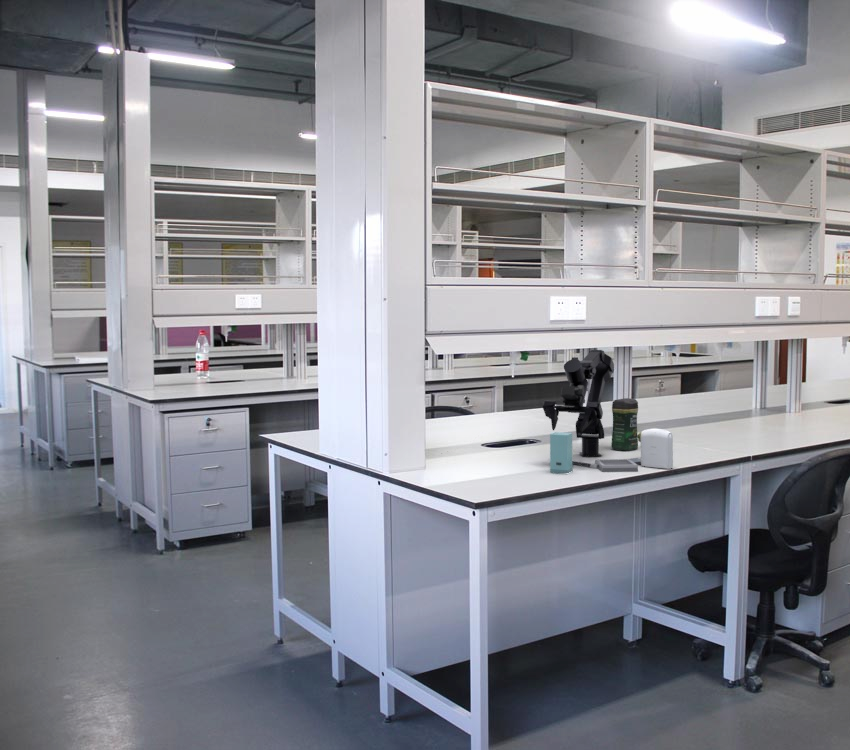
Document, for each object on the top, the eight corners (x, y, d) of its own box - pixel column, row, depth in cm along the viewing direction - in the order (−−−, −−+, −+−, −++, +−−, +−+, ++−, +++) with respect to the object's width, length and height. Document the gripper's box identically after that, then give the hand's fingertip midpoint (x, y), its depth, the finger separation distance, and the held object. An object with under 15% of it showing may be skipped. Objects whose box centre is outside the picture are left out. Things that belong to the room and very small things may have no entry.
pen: (562, 462, 267) (562, 459, 267) (565, 462, 268) (565, 459, 268) (596, 468, 256) (596, 465, 256) (599, 467, 257) (599, 464, 257)
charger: (555, 470, 255) (555, 432, 254) (572, 471, 252) (572, 433, 251) (550, 472, 250) (549, 434, 249) (567, 474, 247) (567, 435, 247)
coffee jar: (626, 452, 287) (626, 400, 285) (608, 449, 292) (607, 398, 291) (642, 448, 293) (642, 398, 292) (623, 446, 299) (623, 396, 298)
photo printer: (638, 466, 258) (638, 428, 258) (644, 464, 262) (645, 426, 261) (668, 470, 251) (668, 430, 251) (674, 468, 255) (675, 429, 254)
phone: (598, 463, 265) (598, 460, 264) (636, 461, 268) (636, 457, 268) (608, 467, 258) (608, 463, 258) (647, 464, 261) (647, 461, 261)
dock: (594, 465, 261) (594, 459, 261) (629, 465, 261) (629, 459, 261) (602, 471, 250) (602, 465, 250) (637, 471, 250) (637, 465, 250)
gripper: (543, 376, 264) (532, 413, 255) (600, 376, 255) (590, 415, 246) (551, 398, 271) (541, 434, 262) (606, 399, 263) (597, 437, 254)
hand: (566, 430), depth 256 cm, fingers open, 9 cm apart
